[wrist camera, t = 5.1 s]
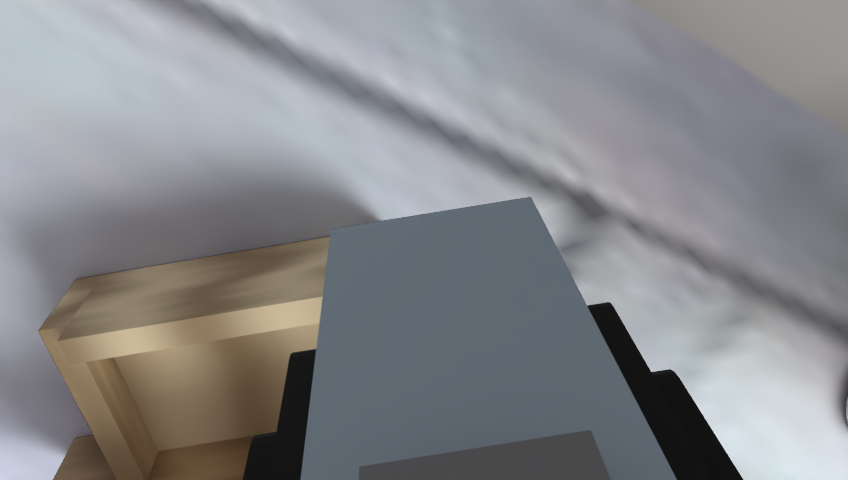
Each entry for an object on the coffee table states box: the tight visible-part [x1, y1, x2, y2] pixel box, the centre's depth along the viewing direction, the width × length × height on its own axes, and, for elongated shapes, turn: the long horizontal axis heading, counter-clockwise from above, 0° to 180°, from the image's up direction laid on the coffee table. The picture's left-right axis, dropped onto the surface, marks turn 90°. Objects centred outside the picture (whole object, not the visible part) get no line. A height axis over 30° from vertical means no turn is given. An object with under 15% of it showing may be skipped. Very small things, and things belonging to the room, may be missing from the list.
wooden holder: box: [38, 237, 330, 480], centre depth 29 cm, size 20×11×9 cm, turn 98°
